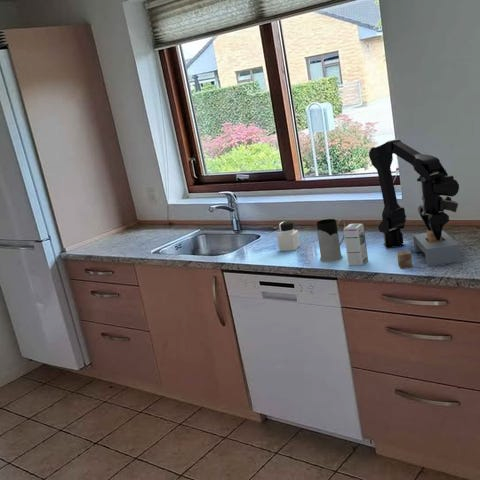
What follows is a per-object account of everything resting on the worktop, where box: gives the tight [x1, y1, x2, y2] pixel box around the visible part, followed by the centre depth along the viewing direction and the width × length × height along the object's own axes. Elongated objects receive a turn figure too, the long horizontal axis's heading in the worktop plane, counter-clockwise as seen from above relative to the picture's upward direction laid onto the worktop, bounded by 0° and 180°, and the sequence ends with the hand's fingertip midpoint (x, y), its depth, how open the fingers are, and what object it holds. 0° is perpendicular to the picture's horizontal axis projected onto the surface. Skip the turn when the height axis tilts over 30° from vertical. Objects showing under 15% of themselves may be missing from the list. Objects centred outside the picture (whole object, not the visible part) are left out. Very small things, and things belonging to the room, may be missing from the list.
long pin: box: [426, 230, 442, 243], centre depth 202 cm, size 4×4×9 cm
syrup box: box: [343, 222, 369, 266], centre depth 208 cm, size 6×6×14 cm
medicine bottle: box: [276, 220, 301, 252], centre depth 243 cm, size 7×7×12 cm
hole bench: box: [412, 230, 462, 267], centre depth 202 cm, size 11×20×6 cm, turn 176°
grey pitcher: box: [316, 218, 347, 263], centre depth 220 cm, size 9×14×15 cm, turn 126°
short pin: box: [396, 249, 413, 270], centre depth 197 cm, size 4×4×5 cm
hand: (434, 236), depth 201 cm, fingers open, 9 cm apart
